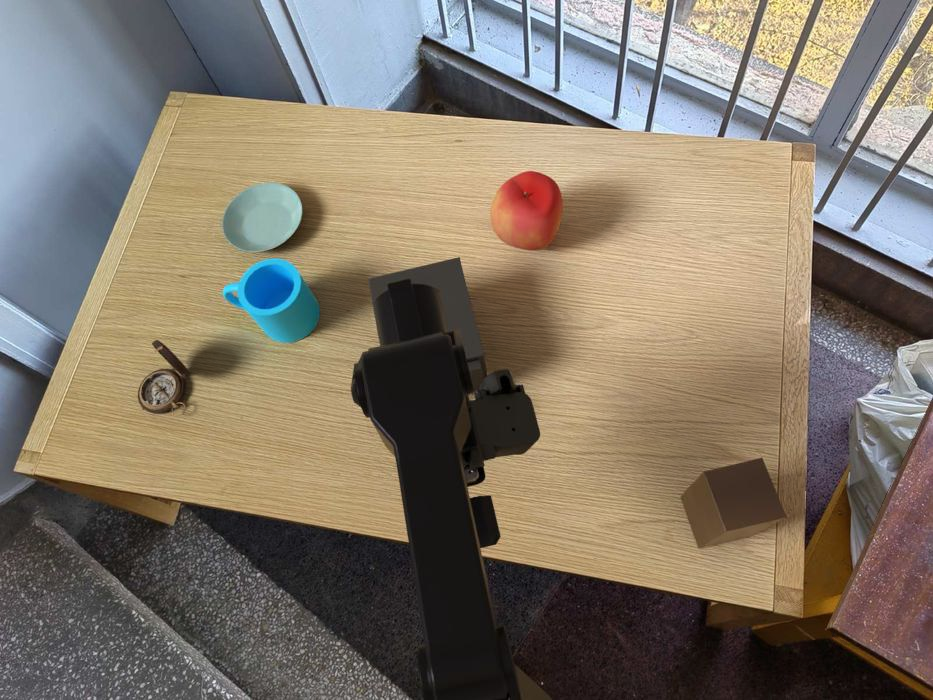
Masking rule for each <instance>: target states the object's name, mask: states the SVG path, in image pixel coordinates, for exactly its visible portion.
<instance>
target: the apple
mask: <svg viewBox="0 0 933 700" xmlns="http://www.w3.org/2000/svg"><path fill="white" fill-rule="evenodd" d="M563 204H564V201H563V196H562V192H561V188H560V186H559V185H558V183H557V182H556V180H554V179H553V178H552V177H551V176H548V175H547V174H544V173H542V172H539V171H534V170H526V171H523V172H520V173H518V174H516V175H514V176H512V177H511V178H509V179H507V180H506V181H505V182H504V183H503V184H502V185H500V186H499V188H498V189H497V191H496V193H495V195H494V197H493V199H492V201H491V205H490V211H489V212H490V215H489V216H490V223H491V227H492V230H493V232H494V234H495V235H496V236H497V237H498V239H499V240H500V241H501V242H503V243H504V244H506V245H507V246H510V247H513V248H515V249H519V250H523V251H540V250H543V249H546V248H547V247H548V246H549V245H550V244H551V243H552V242H553V240H554V239H555V237H556V235H557V234H558V231H559V228H560V226H561V225H560V224H561V221H562V216H563V210H564V209H563V208H564V205H563Z"/></svg>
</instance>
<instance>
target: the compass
mask: <svg viewBox="0 0 933 700" xmlns="http://www.w3.org/2000/svg"><path fill="white" fill-rule="evenodd" d="M151 345H152V346H153V348H154V349H155V350H154V353H156V352H158V353H159V354H160V355H161V357H162V358H163V359H164V360H166V362H167V363H168V364H169V365H170V366H171V367H172V368H173V369H171V368H160V369H156V370H154V371H152V372H151V373H149V374H148V375H147V376H145V378H143V380H142V381H141V382H140V384H139V387H138V390H137V401H138V404H139V405H140V407H141V409H142V410H145V411H147V412H148V413H151V414H153V415H154V414H156V415H161V414H165V413H167V412H170V411H171V413H172V415H173V416H174V417H180V416H182V415H183V414H184V413H185V412H186V409H187V408H186V404H185V403H184V402H183V401H182V400H183V398H184V395H185V392H186V383H185V380H187V379H188V378H190V377H191V372H190V371H189V370H188V368H187V367H186V365H185V364H184V363H183V362H182V361H181V360H180V358H179V357H177V355H175V353H174V352H173V351H172V350H171V349H170V348H169V347H168V346H167V345H165V344H164V343H163V342H161V341H160V340H159V339H155V340H154V341H152V342H151ZM179 404H181V405H183V408H184V409H183V411H182V412H181V413H179V414H176V413H174V409H175V410H176V409H178V408H179Z"/></svg>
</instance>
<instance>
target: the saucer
mask: <svg viewBox="0 0 933 700" xmlns="http://www.w3.org/2000/svg"><path fill="white" fill-rule="evenodd" d="M299 196H300V195H298V194H297V192H296V191H294V189H292V188H291V187H289V186H287V185H285V184H282V183H278V182H262V183H258V184H254V185H252V186H249V187H247V188H245V189H244V190H242V191H241V192H239V193H238V194H237V195H235V196H234V197H233V199H231V201H230V202H229V203H228V205H227V206H226V207H225V210H224V213H223V215H222V222H221V228H222V233H223V235H224V238H225V239H226V241H227V242H228V243H229V244H230V245H231V246H232V247H234V248H236V249H238V250H239V251H243V252H250V253H260V252H265V251H270V250H272V249H274V248H277V247H279V246H280V245H282V244H285V242H286V241H288V240H289V239H290V238H291V237H292V236H293V234H294V233H295V232H296V231H297V229H298V227H299V225H300V224H301V221H302V218H303V204H302V201H301V198H300V197H299Z"/></svg>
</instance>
